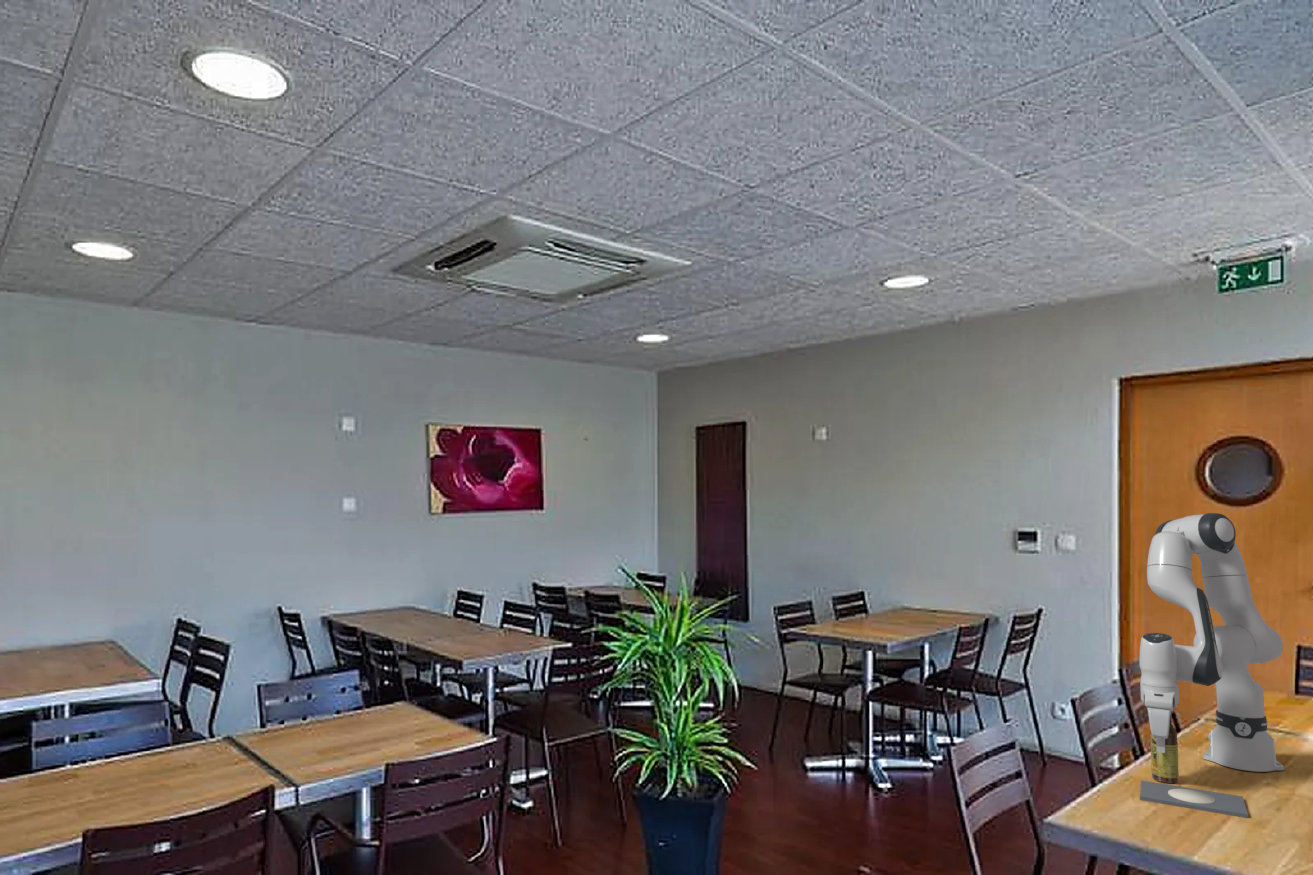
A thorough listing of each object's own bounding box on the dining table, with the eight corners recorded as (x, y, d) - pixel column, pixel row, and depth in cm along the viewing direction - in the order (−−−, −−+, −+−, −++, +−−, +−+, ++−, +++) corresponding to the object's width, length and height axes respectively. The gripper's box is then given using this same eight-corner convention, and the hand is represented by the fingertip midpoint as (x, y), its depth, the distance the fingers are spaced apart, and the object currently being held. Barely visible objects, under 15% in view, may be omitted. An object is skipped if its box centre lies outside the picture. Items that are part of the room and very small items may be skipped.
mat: (1141, 783, 219) (1140, 779, 219) (1242, 799, 207) (1242, 795, 207) (1140, 799, 207) (1139, 795, 207) (1247, 817, 195) (1247, 813, 195)
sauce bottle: (1151, 775, 225) (1149, 700, 227) (1178, 779, 222) (1175, 703, 223) (1151, 782, 220) (1149, 706, 221) (1179, 786, 217) (1176, 709, 218)
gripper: (1147, 687, 233) (1149, 737, 232) (1144, 700, 216) (1146, 755, 215) (1173, 690, 230) (1175, 741, 229) (1172, 704, 213) (1175, 759, 212)
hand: (1161, 748), depth 222 cm, fingers open, 8 cm apart
